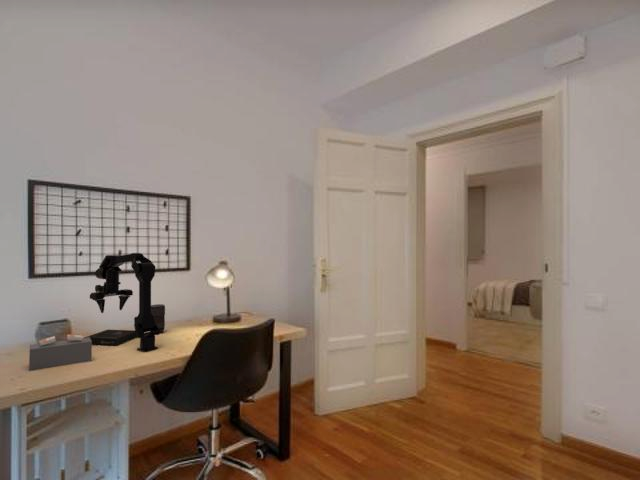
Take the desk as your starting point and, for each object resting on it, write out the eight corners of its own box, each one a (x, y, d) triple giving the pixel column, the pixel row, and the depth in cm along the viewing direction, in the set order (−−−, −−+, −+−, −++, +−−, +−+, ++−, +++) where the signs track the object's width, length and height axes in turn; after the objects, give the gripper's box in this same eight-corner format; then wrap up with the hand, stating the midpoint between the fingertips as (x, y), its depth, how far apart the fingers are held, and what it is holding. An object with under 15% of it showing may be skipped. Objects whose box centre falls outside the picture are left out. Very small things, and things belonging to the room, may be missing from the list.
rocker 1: (55, 338, 146) (54, 335, 146) (55, 340, 143) (55, 337, 142) (40, 343, 143) (39, 340, 143) (40, 345, 140) (39, 342, 139)
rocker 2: (81, 338, 151) (82, 335, 151) (82, 340, 148) (83, 337, 148) (67, 337, 148) (68, 334, 148) (67, 339, 145) (68, 335, 145)
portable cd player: (138, 338, 187) (138, 330, 187) (116, 347, 170) (116, 338, 170) (108, 336, 189) (108, 329, 189) (83, 345, 172) (84, 337, 172)
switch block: (89, 356, 155) (89, 337, 155) (91, 360, 148) (91, 341, 148) (29, 365, 142) (29, 344, 142) (29, 370, 136) (29, 349, 136)
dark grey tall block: (146, 332, 196) (146, 305, 197) (161, 330, 202) (161, 303, 202) (151, 335, 191) (152, 307, 191) (167, 333, 196) (167, 305, 197)
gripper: (120, 277, 191) (119, 307, 191) (83, 280, 175) (82, 312, 175) (133, 279, 186) (133, 309, 186) (96, 282, 170) (95, 315, 169)
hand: (111, 311), depth 179 cm, fingers open, 9 cm apart
